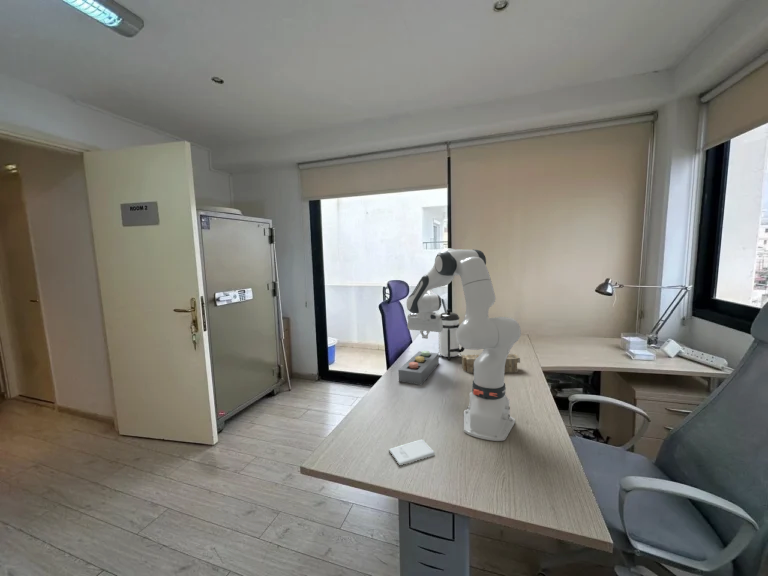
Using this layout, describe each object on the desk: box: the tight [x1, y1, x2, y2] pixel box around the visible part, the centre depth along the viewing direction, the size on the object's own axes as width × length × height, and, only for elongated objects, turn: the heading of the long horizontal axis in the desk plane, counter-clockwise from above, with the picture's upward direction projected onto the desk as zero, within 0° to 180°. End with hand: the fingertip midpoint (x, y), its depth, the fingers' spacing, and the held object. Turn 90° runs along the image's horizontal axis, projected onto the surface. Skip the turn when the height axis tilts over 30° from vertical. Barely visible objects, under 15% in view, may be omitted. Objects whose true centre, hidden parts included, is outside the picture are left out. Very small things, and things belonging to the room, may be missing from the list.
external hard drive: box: [388, 438, 436, 466], centre depth 100 cm, size 2×8×12 cm
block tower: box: [461, 353, 521, 374], centre depth 169 cm, size 8×8×29 cm
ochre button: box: [415, 356, 424, 363], centre depth 169 cm, size 5×5×2 cm
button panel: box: [398, 350, 440, 385], centre depth 169 cm, size 32×12×6 cm, turn 155°
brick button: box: [409, 362, 419, 370], centre depth 160 cm, size 5×5×2 cm
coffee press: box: [437, 308, 465, 361], centre depth 191 cm, size 17×16×30 cm
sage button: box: [420, 350, 431, 357], centre depth 178 cm, size 5×5×2 cm
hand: (425, 338), depth 177 cm, fingers closed
